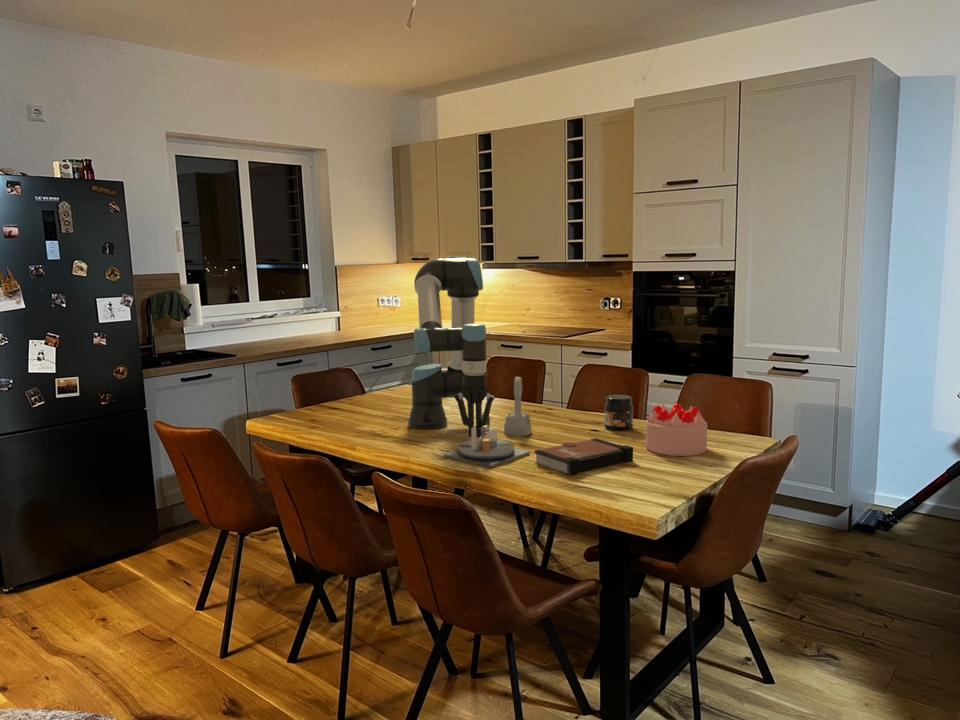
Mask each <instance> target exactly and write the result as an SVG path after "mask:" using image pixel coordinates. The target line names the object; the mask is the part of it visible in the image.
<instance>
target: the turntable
mask: <svg viewBox="0 0 960 720" xmlns="http://www.w3.org/2000/svg"><path fill="white" fill-rule="evenodd" d="M514 448H515V444H514V443H513V442H511V441H508V440H503V439H498V438H497V447H495V448H491V449H490V447H489V439H483V449H478V448H472V439H471V440H467V441H464V442H461V443H460V444H459V445H458V449H459V453H460V454H461V455H462V456H464V457H468V458H473V459H499V458H505V457H508V456H511V455H513V454H514Z"/></svg>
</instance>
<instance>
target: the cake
mask: <svg viewBox="0 0 960 720" xmlns="http://www.w3.org/2000/svg"><path fill="white" fill-rule="evenodd" d="M702 415H703V414H702V412H701V409H700V408H699V407H697V406H695V407H693V406H692V405H690V406H689V409H688V410H687V409H685V408H683V406H682V405H681V404H680V403H675V404H673V406H672V407H671V410H670V411H669V410H668V409H667V408H666V405H665V404H663V403H662V407H661V405H655V406H654V407H653V408H652V409H651V413H649V415H648V417H647V420H646V421H645V423H646V424H645V428H646V429H645V447H646V449H647V450H648V451H649V452H651V453H655V454H659V455H662V456H663V455H664V456H668V457H669V456H670V457H691V456H692V457H693V456H694V457H695V456H699V455H703V454H705V452H706V451H707V443H708V442H707V441H708V423H707V421H706V420H705V418H704V417H703V416H702Z"/></svg>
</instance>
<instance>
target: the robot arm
mask: <svg viewBox="0 0 960 720" xmlns="http://www.w3.org/2000/svg"><path fill="white" fill-rule="evenodd" d="M413 284H414V291H415V293H416V294H417V303H418V306H417V307H418V321H419V323H418V324H419V325H418V326H419V328H415V329H414V330H413V336H414V337H413V340H414V341H413V342H414V345H413V346H414V350H415V351H416V352H422V353H423V352H426V353H431V352H433V353H435V352H451V359H450V360H449V361H448V362H447V367H443V366H442V364H441V363H432V364H431V363H429V364H423V365H421V366H416V367H414V368H413V370H411V380H410V382H411V409H410V414H409V418H408V420H407V425H408V427H409V428H411V429H417V430H435V429H441V428H445V427H446V426H448V417H447V416H446V412H445V410H444V406H443V399H451V398H453V399H455V400H456V403H457V406H458V411H459V414H460V417H461V421H462V422H461V423H462V425H463V426H466V427H468V437H469V438H471V440H472V448H477V447H478V446H479V438H480V437H481V435H482V432H481V427H482V426H485V425H486V424H487V422H488V418H489V416H490V412H491V409H492V404H493V401H494V400H495V399H496V396H495V395H491V394H490V393H489V390H488V388H487V384H488V383H487V374H486V373H487V336H488V335H487V330H486V328H487V327H486V325H485V324H483V323H475V309H476V308H475V301H476V299H477V298H478V297H479V296H480V295H479V294H480V293H479V292H481V291H483V289H484V281H483V274H482V267H481V263H480V261H479V260H478V259H477V258H471V257H469V258H468V257H455V258H450V257H449V258H434V259H431V260H429V261H428V262H426V263H425V264H423V265H422V266H421V267H420V268H419V270H418V271H417V272H416V275H415V277H414V283H413ZM443 291H446V292H447V293H446V295H447V297H449V298H450V300H451V327H443V321H442V308H441V297H440V292H443ZM464 399H465V400H466V403H465V400H464ZM484 399H485V400H486V403H485V406H484V411H482V408H483V406H482V405H483V401H484ZM465 404H466V405H467V409H466V405H465ZM483 413H484V415H483V419H482V414H483Z"/></svg>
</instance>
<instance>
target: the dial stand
mask: <svg viewBox="0 0 960 720" xmlns="http://www.w3.org/2000/svg"><path fill="white" fill-rule="evenodd" d="M483 415H484V412H482V419H483ZM486 425H489V428H491V417H490V415H489V418H488V422H487V424H486Z"/></svg>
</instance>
